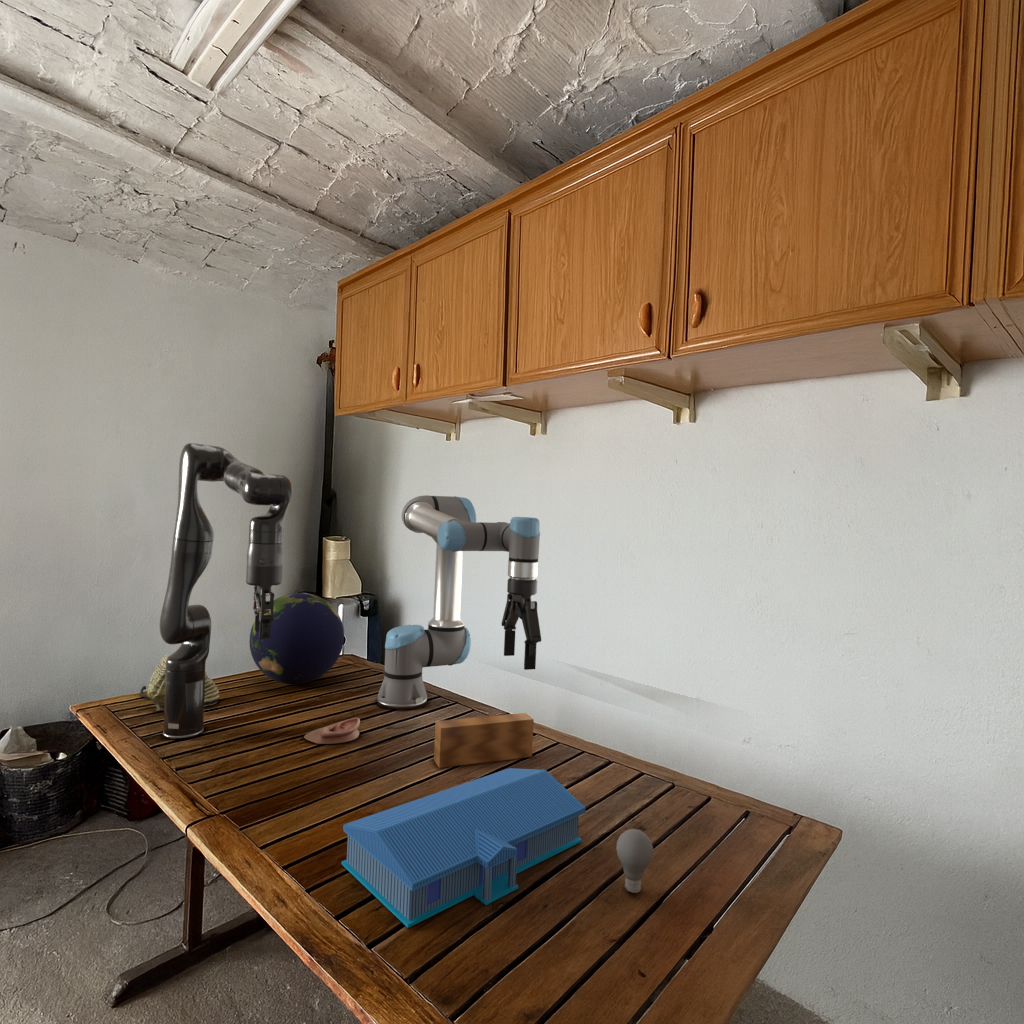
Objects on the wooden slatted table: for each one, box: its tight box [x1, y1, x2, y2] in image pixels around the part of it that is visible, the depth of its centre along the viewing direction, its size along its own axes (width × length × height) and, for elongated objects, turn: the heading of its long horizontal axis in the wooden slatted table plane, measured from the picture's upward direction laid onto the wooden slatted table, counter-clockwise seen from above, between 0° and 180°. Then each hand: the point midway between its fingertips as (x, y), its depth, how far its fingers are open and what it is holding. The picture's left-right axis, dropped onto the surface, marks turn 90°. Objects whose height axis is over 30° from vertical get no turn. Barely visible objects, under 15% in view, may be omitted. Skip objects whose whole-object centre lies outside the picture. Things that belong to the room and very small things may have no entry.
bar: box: [433, 712, 535, 769], centre depth 157 cm, size 24×5×10 cm, turn 112°
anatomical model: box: [303, 717, 361, 745], centre depth 167 cm, size 13×4×12 cm
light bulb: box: [615, 828, 654, 894], centre depth 106 cm, size 6×6×10 cm
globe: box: [248, 592, 345, 686], centre depth 212 cm, size 30×30×30 cm
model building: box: [341, 767, 586, 929], centre depth 114 cm, size 39×24×10 cm, turn 132°
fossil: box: [146, 654, 221, 712], centre depth 185 cm, size 9×18×15 cm, turn 132°
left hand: (262, 635), depth 142 cm, fingers open, 8 cm apart
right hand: (518, 662), depth 160 cm, fingers open, 13 cm apart
